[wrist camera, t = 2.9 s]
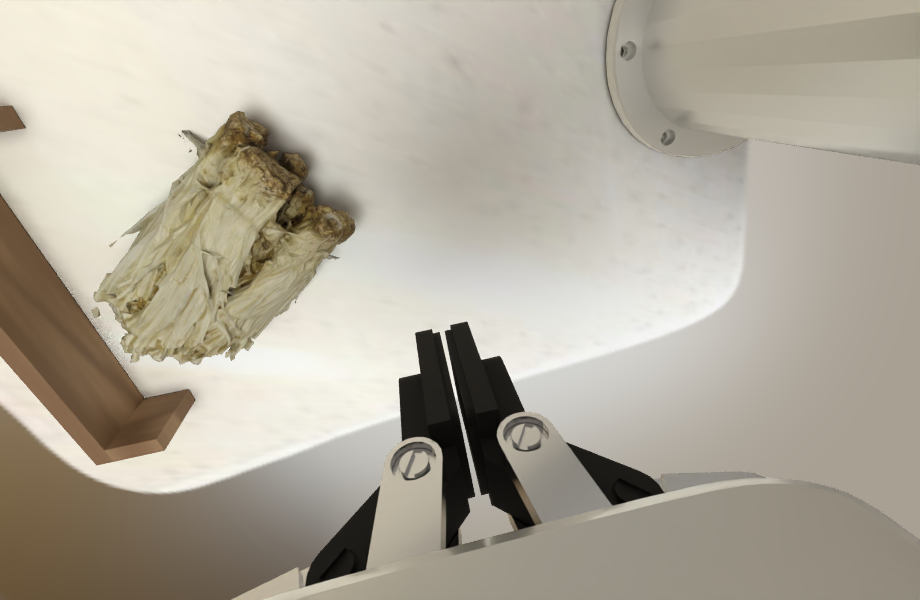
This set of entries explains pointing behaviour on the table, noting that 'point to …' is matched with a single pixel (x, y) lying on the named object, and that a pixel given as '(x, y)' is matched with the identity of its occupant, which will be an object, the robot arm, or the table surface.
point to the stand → (72, 354)
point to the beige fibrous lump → (221, 250)
